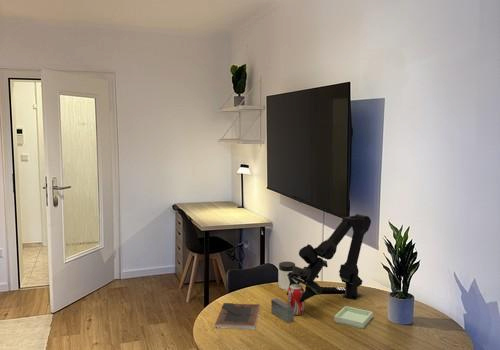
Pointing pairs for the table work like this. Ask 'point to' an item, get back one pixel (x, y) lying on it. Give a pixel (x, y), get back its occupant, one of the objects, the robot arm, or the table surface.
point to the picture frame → (238, 316)
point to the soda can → (296, 298)
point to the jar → (284, 274)
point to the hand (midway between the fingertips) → (293, 298)
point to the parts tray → (353, 317)
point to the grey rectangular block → (282, 310)
